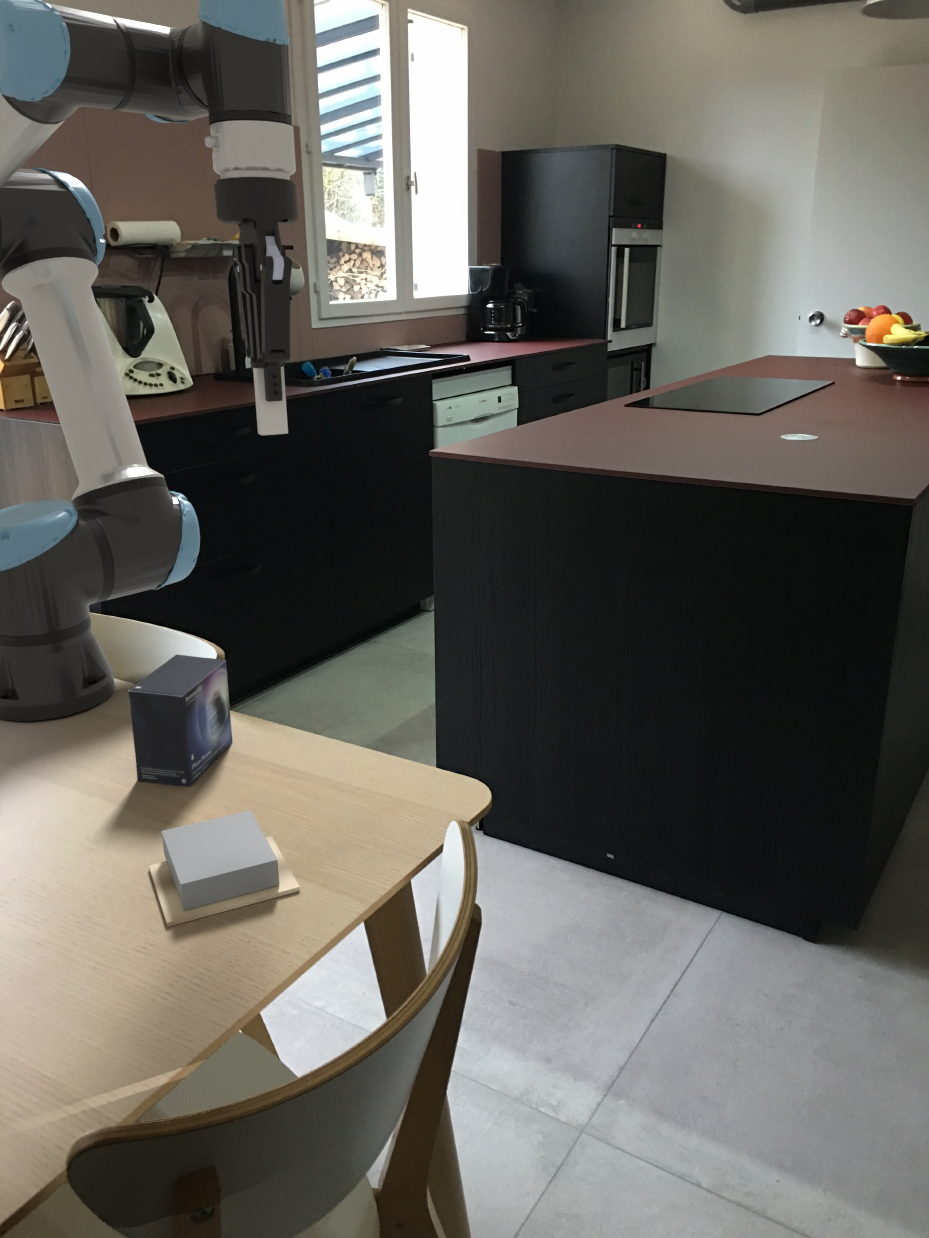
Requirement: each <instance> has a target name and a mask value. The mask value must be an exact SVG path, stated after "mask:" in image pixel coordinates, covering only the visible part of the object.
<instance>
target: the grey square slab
mask: <svg viewBox="0 0 929 1238" xmlns="http://www.w3.org/2000/svg"><path fill="white" fill-rule="evenodd" d="M266 837H267V836H266V835H265V833H264V832H263V831H262V829H261V827H260V825H259V823H258V821H257V819H256V818H255V815H254V813H253V812H252V810H246V811H241V812H237V813H234V814H233V813H232V814H228V815H224V816H221V817H216V818H211V819H207V820H202V821H199V822H194V823H190V824H186V825H182V826H181V825H180V826H177V827H172V828H168V829H164V830H161V838H162V845H163V853H164V855H163V856H164V857H165V861H167V864H168V867H169V870H170V873H171V875H172V878H173V881H174V884H175V887H176V890H177V893H178V896H179V898H180V901H181V904H182V907H183V910H188V909H192V908H195V907H199V906H203V905H207V904H210V903H214V902H218V901H222V900H225V899H229V898H233V897H237V896H240V895H244V894H248V893H251V892H255V891H259V890H263V889H266V888H270V887H274V886H278V885H280V884H279V872H278V860H277V858H276V856H275V854H274V852H273V850H272V849H271V847H270V845H269V843H268V841H267V839H266Z"/></svg>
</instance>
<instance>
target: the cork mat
mask: <svg viewBox="0 0 929 1238" xmlns="http://www.w3.org/2000/svg"><path fill="white" fill-rule="evenodd" d="M265 837H266V839H267V841H268V843H269V845H270V847H271V849H272V850H273V852H274V854H275V856H276V858H277V860H278V872H279V884H280V885H278V886H274V887H270V888H266V889H263V890H259V891H255V892H251V893H248V894H244V895H240V896H237V897H233V898H229V899H225V900H222V901H218V902H214V903H210V904H207V905H203V906H199V907H195V908H192V909H188V910H183V907H182V904H181V901H180V898H179V896H178V893H177V890H176V887H175V884H174V881H173V878H172V875H171V873H170V870H169V867H168V864H167V861H166V860H165V861H161V862H158V863H153V864H150V865H149V864H148V870H149V873H150V875H151V879H152V881H153V886H154V888H155V892H156V895H157V898H158V902H159V903H160V908H161V911H162V914H163V917H164V920H165V923H166V927H167V928H168V927H172V926H176V925H180V924H183V923H187V922H190V921H194V920H197V919H202V918H205V917H208V916H212V915H217V914H220V913H224V912H227V911H231V910H234V909H238V908H242V907H246V906H249V905H252V904H257V903H259V902H260V903H261V902H264V901H268V900H272V899H275V898H279V897H282V896H285V895H290V894H293V893H297V892H301V886H300V885H299V883H298V881H297V880H296V877H295V875H294V874H293V872H292V870H291V868H290V867H289V865H288V863H287V861H286V859H285V858H284V856H283V854H282V853H281V852H282V851H280V849H279V847H278V845H277V843H276V841H275V840H274V838H273V836H272V835H268V836H265Z"/></svg>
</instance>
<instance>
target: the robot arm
mask: <svg viewBox="0 0 929 1238" xmlns="http://www.w3.org/2000/svg"><path fill="white" fill-rule="evenodd" d="M286 17H287V16H286V9H285V3H284V0H198V10H197V18H198V19H199V21H197V22H195V23H193V24H190V25H186V26H181V27H171V26H165V25H161V24H154V23H148V22H144V21H140V20H133V19H130V18H129V19H128V18H124V17H120V16H119V17H117V16H112V15H106V14H101V13H96V12H92V11H87V10H82V9H77V8H74V7H72V8H71V7H68V6H63V5H58V4H53V3H49V2H46V1H45V0H0V283H1V286H2V289H3V290H4V291H5V292H6V293H7V294H9V295H11V296H12V297H14V298H16V299H17V300H19V301H20V303H21V305H22V309H23V313H24V315H25V319H26V321H27V325H28V328H29V330H30V335H31V337H32V340H33V343H34V346H35V350H36V352H37V355H38V358H39V362H40V364H41V368H42V371H43V373H44V377H45V380H46V384H47V386H48V389H49V392H50V396H51V400H52V402H53V406H54V408H55V411H56V414H57V417H58V421H59V423H60V426H61V430H62V433H63V435H64V436H63V437H64V439H65V442H66V445H67V449H68V451H69V454H70V457H71V461H72V464H73V467H74V469H75V473H76V476H77V479H78V482H79V483H78V486H77V488H76V490H75V491H74V493H73V495H72V497H71V502H70V501H67V500H62V499H44V500H40V501H37V502H34V501H27V502H24V503H19V504H15V505H12V506H8V507H5V508H2V509H0V719H1V720H6V721H17V722H18V721H19V722H27V721H28V722H29V721H42V720H50V719H55V718H57V719H58V718H62V717H66V716H71V715H73V714H77V713H81V712H83V711H86V710H88V709H91V708H94V707H95V706H97V705H100V704H102V702H104V701H106V700H108V698H109V697H111V695H112V694H113V693H114V691H115V688H116V683H115V677H114V671H113V667H112V665H111V664H110V662H109V660H108V658H107V655H106V654H105V652H104V650H103V648H102V647H101V644H100V642H99V641H98V638H97V636H96V635H95V633H94V631H93V625H92V620H91V613H90V605H93V604H96V603H101V602H105V601H109V600H113V599H117V598H121V597H125V596H128V595H129V596H130V595H133V594H137V593H141V592H145V591H149V590H154V591H155V590H159V589H161V588H164V587H165V586H167V585H171V584H174V583H177V582H180V581H183V580H184V579H186V578H187V577H188V576H189V575H190V574H191V572H192V571H193V569H194V568H195V566H196V564H197V561H198V556H199V552H200V547H201V546H200V545H201V535H200V534H201V533H200V525H199V520H198V516H197V514H196V511H195V509H194V507H193V505H192V503H191V502H190V501H188V498H187V497H186V496H185V495H184V494H182V493H181V492H176V491H174V490H173V491H171V490H169V488H168V485H167V482H166V479H165V476H164V475H163V474H161V473H159V472H158V471H156V470H154V469H152V468H151V467H150V466H149V465H148V462H147V459H146V456H145V453H144V449H143V446H142V443H141V441H140V437H139V435H138V431H137V427H136V424H135V421H134V418H133V415H132V412H131V409H130V406H129V403H128V399H127V396H126V394H125V393H126V392H125V390H124V386H123V383H122V381H121V377H120V374H119V371H118V367H117V365H116V362H115V359H114V356H113V353H112V349H111V346H110V343H109V340H108V337H107V334H106V330H105V328H104V327H105V326H104V325H103V321H102V317H101V314H100V311H99V309H98V305H97V302H96V300H95V299H96V298H95V297H94V292H93V289H92V285H93V283H94V282H95V280H96V279H97V277H98V275H99V267H98V265H100V263H101V262H102V261H103V258H104V256H105V251H106V243H107V242H106V240H105V238H104V235H105V233H106V230H105V224H104V220H103V217H102V214H101V213H102V212H101V211H100V207H99V206H98V204H97V201H96V200H95V198H94V196H93V195H92V193H91V192H90V190H89V189H88V188H87V186H86V185H85V184H84V183H83V182H82V181H81V180H79V179H78V178H76V177H74V176H73V175H71V174H69V173H66V172H63V171H62V172H61V171H53V170H49V169H47V168H45V167H44V168H43V167H31V168H21V167H22V166H23V165H24V164H25V163H26V162H27V161H28V160H29V159H30V158H31V157H32V156H33V154H34V153H35V152H37V150H38V149H39V148H40V147H41V146H42V145H43V144H44V143H45V142H46V141H47V140H48V139H49V138H50V137H51V136H52V135H53V133H55V132H56V131H57V130H58V128H60V127H61V125H63V123H64V122H65V121H66V120H68V118H69V117H71V116H72V115H73V114H74V113H75V112H76V111H77V109H79V108H83V107H86V108H95V109H101V110H102V109H103V110H112V111H119V112H126V113H135V114H141V115H142V114H143V115H144V116H145V117H147V118H148V119H149V120H151V121H154V122H157V123H164V124H169V123H177V124H185V123H188V122H190V121H194V120H197V119H202V118H206V117H208V125H209V126H210V127H209V133H210V135H206V136H205V137H204V146H205V147H207V148H209V149H210V148H212V153H211V156H212V157H211V158H212V166H213V171H214V173H216V174H217V175H219V176H220V178H218V179H216V181H215V183H214V184H213V186H214V187H213V188H214V189H213V190H214V198H215V199H214V200H215V211H216V218H217V220H218V222H220V223H222V224H226V225H238V228H239V229H238V230H239V231H238V232H239V233H238V245H237V244H236V245H235V246H234V248H235V249H234V254H235V255H234V256H235V258H233V261H232V268H233V270H234V274H235V275H234V276H235V280H236V286H237V293H238V301H239V309H240V316H241V323H242V331H243V338H244V339H243V340H244V346H245V350H244V351H245V355H246V357H247V359H250V361H249V364H250V367H251V369H252V372H253V385H254V397H255V409H256V410H255V411H256V423H257V424H256V426H257V434H258V435H260V436H270V435H271V436H275V435H285V434H289V427H288V426H289V425H288V414H287V413H288V411H287V397H286V384H285V383H286V382H285V381H286V380H285V368H284V367H285V366H286V364H287V363H286V362H290V361H291V277H292V270H293V269H292V268H293V260H292V257H291V256H290V255H289V256H288V255H287V253H286V251H287V250H286V246H285V244H282V238H281V233H280V228H279V226H280V225H282V226H284V225H291V224H294V223H296V222H297V221H298V218H299V211H298V210H299V209H298V194H297V184H295V181H293V180H291V179H290V178H291V177H290V176H292V175H294V174H295V173H296V172H297V167H296V165H297V164H296V150H295V134H294V126H293V119H292V118H293V113H292V111H293V109H292V94H291V93H292V91H291V90H292V89H291V71H290V70H291V69H290V55H289V54H290V50H289V45H290V44H291V42H290V41H291V40H290V38H289V35H288V27H287V18H286Z"/></svg>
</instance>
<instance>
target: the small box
mask: <svg viewBox="0 0 929 1238" xmlns="http://www.w3.org/2000/svg"><path fill="white" fill-rule="evenodd" d="M228 683H229V682H228V670H227V659H222V658H211V657H201V656H194V655H193V656H192V655H185V654H184V655H183V654H174V655H173V656H172V657H171V658H169V659H168V660H167V661H166V662H164V663H163V664H162V665H160V666H159V667H158V668H156V669H155V670H154V671H152V672H151V673H149V674H148V675H146V676H145V677H144V678H143V679H141V680H140V681H139V682H137V683H136V684H134V685H133V686H131V687H130V688H129V689H128V690H127V693H128V703H129V711H130V720H131V728H132V729H131V731H132V735H133V746H134V756H135V766H136V781H137V782H139V783H150V784H158V785H166V786H175V787H187V788H190V787H192V786H193V785H195V783H197V781H198V780H199V779H200V778H201V777H202V776H203V774H204V773H205V772H206V771H208V769H209V768H211V766H212V765H213V764H214V763H215V762H216V761H217V760H218V759H219V757H221V756H222V754H223V753H224V752H225V751H226V750H227V749H228V748H229V747H230V746H231V745H232V744H233V742H234V741H233V731H232V730H233V729H232V719H231V709H230V708H231V707H230V696H229V695H230V693H229V684H228Z"/></svg>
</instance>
